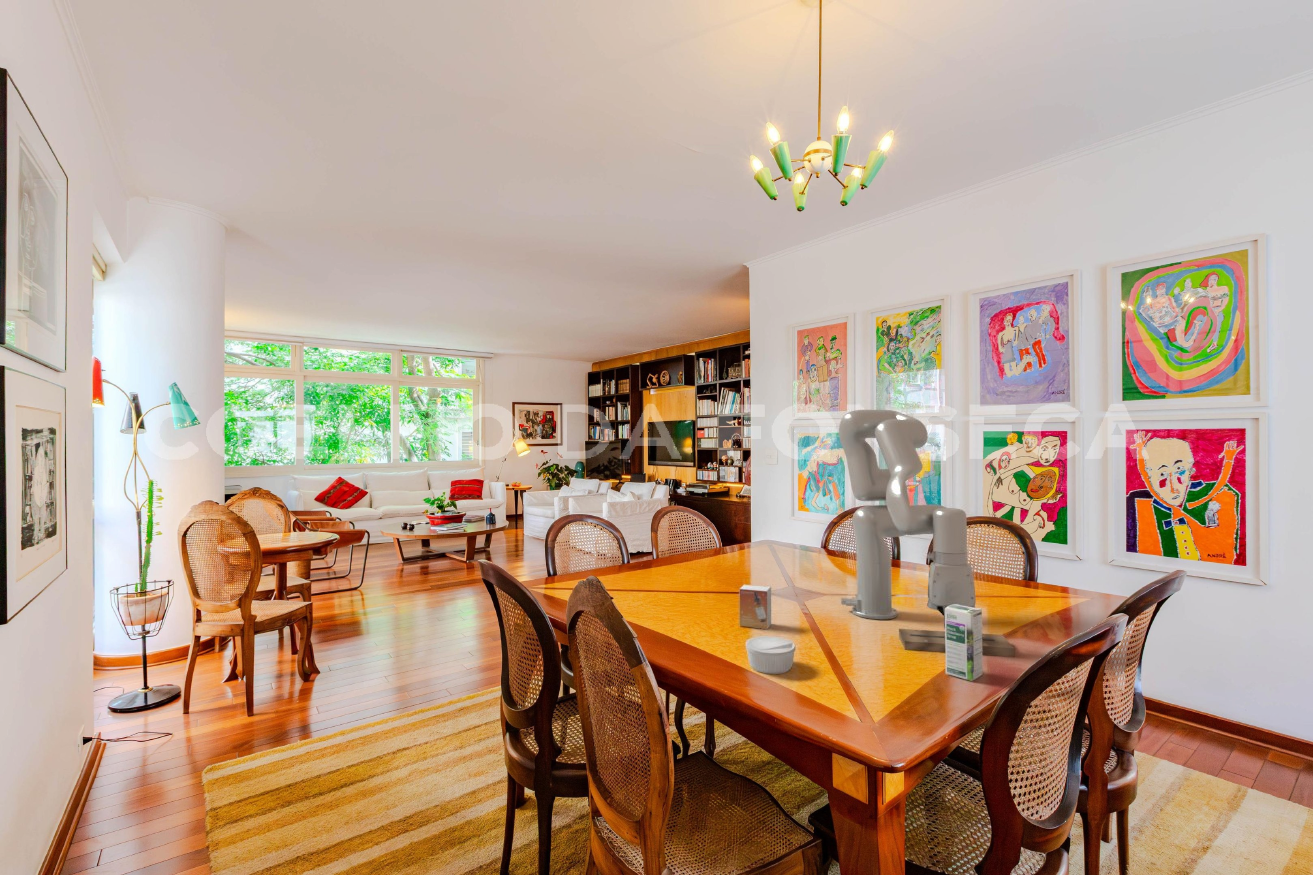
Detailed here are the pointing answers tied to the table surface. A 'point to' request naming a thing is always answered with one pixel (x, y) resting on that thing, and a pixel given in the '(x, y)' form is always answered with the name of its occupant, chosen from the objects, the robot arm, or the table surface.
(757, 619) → the small box
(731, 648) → the table surface
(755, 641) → the ramekin
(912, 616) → the table surface
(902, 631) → the fader board
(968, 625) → the syrup box
